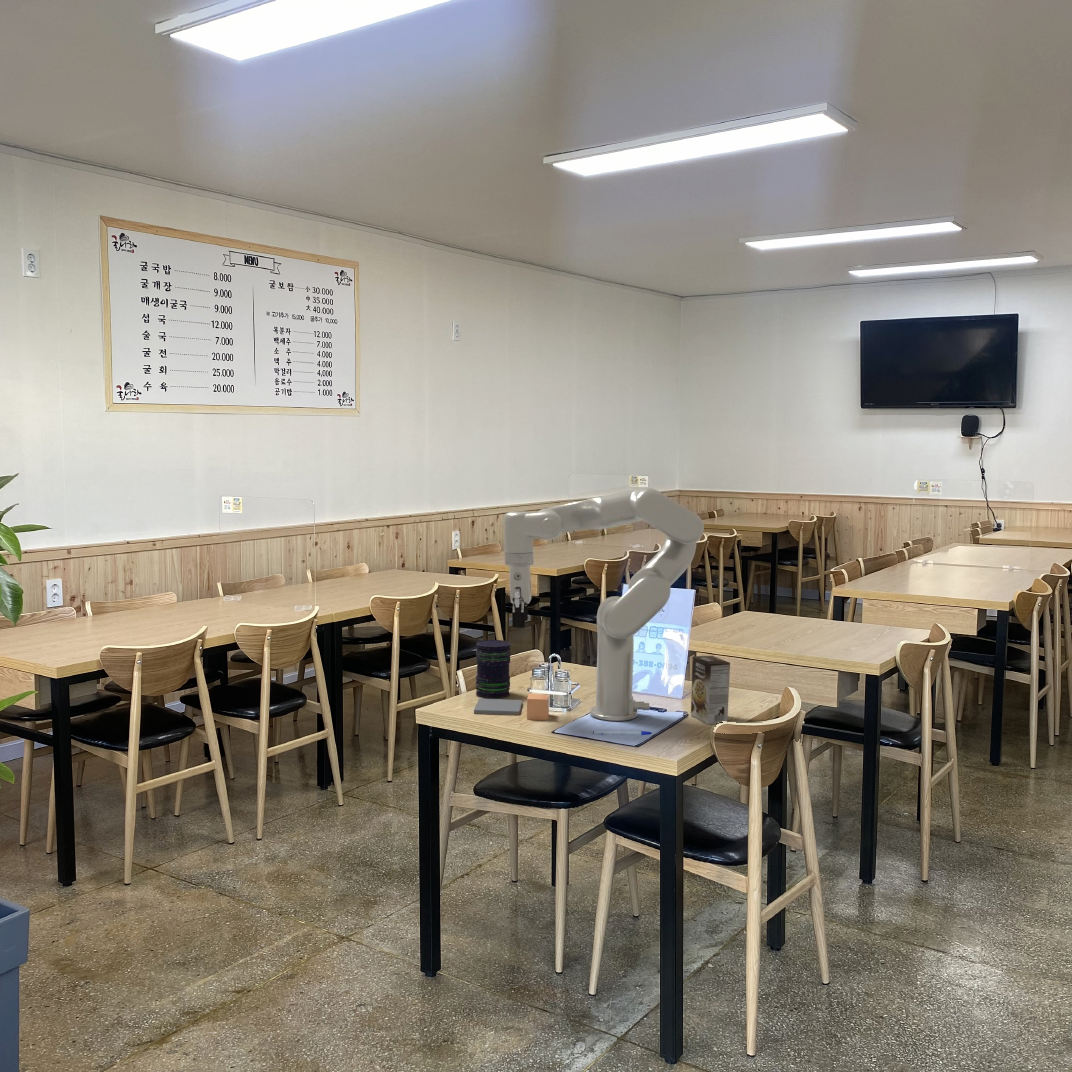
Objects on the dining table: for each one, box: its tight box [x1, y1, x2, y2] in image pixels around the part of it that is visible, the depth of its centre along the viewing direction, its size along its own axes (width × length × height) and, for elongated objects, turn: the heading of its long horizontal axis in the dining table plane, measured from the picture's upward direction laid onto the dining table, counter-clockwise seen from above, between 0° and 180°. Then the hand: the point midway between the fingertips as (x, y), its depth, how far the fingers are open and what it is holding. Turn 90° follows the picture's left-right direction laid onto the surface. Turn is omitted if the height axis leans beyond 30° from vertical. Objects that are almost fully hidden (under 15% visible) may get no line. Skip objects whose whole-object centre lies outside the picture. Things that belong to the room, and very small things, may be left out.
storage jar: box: [475, 639, 512, 699], centre depth 283 cm, size 10×10×15 cm
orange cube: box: [526, 693, 550, 721], centre depth 261 cm, size 6×6×6 cm
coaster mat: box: [473, 698, 523, 716], centre depth 268 cm, size 12×12×1 cm
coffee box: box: [690, 655, 731, 725], centre depth 261 cm, size 9×6×16 cm
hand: (520, 624), depth 260 cm, fingers open, 9 cm apart
